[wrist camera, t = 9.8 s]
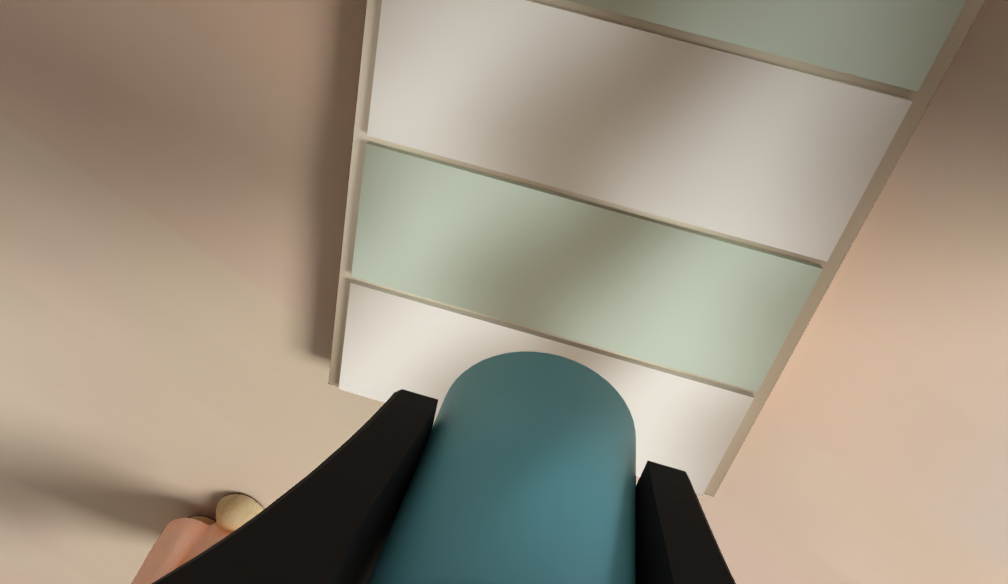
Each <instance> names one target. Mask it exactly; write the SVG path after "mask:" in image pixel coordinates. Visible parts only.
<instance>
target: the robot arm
mask: <svg viewBox="0 0 1008 584" xmlns="http://www.w3.org/2000/svg"><path fill="white" fill-rule="evenodd" d="M437 403H438V399H435V398H431V397H428V396H424V395H421V394H417V393H414V392H411V391H407V390H404V389H401V390H399V391H397V392H394V393H393V395H392V396H391V397H390V398H389V399H388V400H387V401H386V403H385V404H384V405H383V406H382V407H381V408H380V409H379V410H378V411H377V412H376V413H375V414H374V415H373V416H372V417H371V418H370V419H369V420H368V421H367V422H366V423H365V424H364V425H363V426H362V427H361V428H360V429H359V430H358V431H357V432H356V433H355V434H354V435H353V436H352V437H351V438H350V439H349V440H348V441H346V442H345V443H344V444H343V445H342V446H341V447H340V448H339V449H337V450H336V451H335V452H334V453H333V454H332V455H331V456H329V457H328V458H327V459H326V460H325V461H324V462H323V463H322V464H320V465H319V466H318V467H317V468H316V469H315V470H314V471H312V472H311V473H310V474H309V475H308V476H306V477H305V478H304V479H303V480H301V481H300V482H299V483H297V484H296V485H295V486H294V487H292V488H291V489H290V490H289V491H287V492H286V493H285V494H283V495H282V496H281V497H280V498H278V499H277V500H276V501H275V502H273V503H272V504H271V505H269V506H268V507H267V508H266V509H264V510H263V511H261V512H260V513H259V514H257V515H256V516H255V517H253V518H252V519H250V520H249V521H248V522H246V523H245V524H244V525H242V526H241V527H239V528H238V529H236V530H235V531H233V532H232V533H231V534H229V535H228V536H226V537H225V538H223V539H222V540H220V541H219V542H217V543H216V544H214V545H213V546H211V547H210V548H208V549H207V550H205V551H204V552H202V553H200V554H199V555H197V556H196V557H194V558H192V559H191V560H189V561H188V562H186V563H184V564H183V565H181V566H179V567H178V568H176V569H174V570H173V571H171V572H170V573H168V574H166V575H165V576H163V577H161V578H160V579H158V580H157V581H155V582H153V583H152V584H368V582H369V580H370V577H371V575H372V572H373V570H374V568H375V565H376V563H377V560H378V558H379V556H380V553H381V551H382V548H383V546H384V543H385V541H386V539H387V536H388V534H389V531H390V529H391V526H392V524H393V522H394V519H395V517H396V514H397V512H398V510H399V507H400V505H401V502H402V500H403V497H404V495H405V493H406V490H407V488H408V485H409V483H410V481H411V479H412V476H413V474H414V472H415V469H416V467H417V464H418V462H419V460H420V457H421V455H422V452H423V450H424V447H425V445H426V443H427V440H428V438H429V435H430V433H431V430H432V427H433V422H434V417H435V413H436V408H437ZM635 584H736V583H735V581H734V579H733V577H732V575H731V573H730V571H729V569H728V566H727V564H726V562H725V560H724V558H723V556H722V553H721V551H720V549H719V547H718V544H717V542H716V540H715V538H714V535H713V533H712V531H711V529H710V526H709V524H708V522H707V519H706V517H705V515H704V512H703V510H702V507H701V505H700V503H699V500H698V498H697V495H696V493H695V491H694V488H693V486H692V483H691V481H690V479H689V477H688V475H687V473H686V471H682V470H679V469H675V468H672V467H668V466H665V465H662V464H658V463H655V462H651V461H647V463H646V465H645V468H644V470H643V472H642V474H641V476H640V479H639V481H638V483H637V485H636V579H635Z"/></svg>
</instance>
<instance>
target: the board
mask: <svg viewBox="0 0 1008 584" xmlns="http://www.w3.org/2000/svg"><path fill="white" fill-rule="evenodd" d="M984 2H985V0H367V7H366V17H365V27H364V37H363V46H362V56H361V66H360V76H359V86H358V96H357V106H356V116H355V125H354V135H353V145H352V155H351V165H350V175H349V185H348V195H347V205H346V214H345V224H344V234H343V244H342V254H341V264H340V274H339V284H338V293H337V303H336V313H335V323H334V333H333V343H332V353H331V363H330V373H329V382H328V384H330V385H334V386H337V387H339V389H340V390H343V391H347V392H350V393H354V394H357V395H360V396H364V397H367V398H371V399H374V400H378V401H381V402H384V403H386V401H387V400H388V399H389V398H390V397H391V396H392V395H393V393H394V392H397V391H399V390H401V389H404V390H407V391H411V392H414V393H417V394H421V395H424V396H428V397H431V398H435V399H438V403H437V408H436V413H435V417H436V418H437V415H438V413H439V410H440V408H441V405H442V403H443V401H444V398H445V396H446V394H447V392H448V390H449V388H450V387H451V386H452V384H453V383H454V381H455V380H456V379H457V378H458V377H459V376H460V375H461V374H462V373H463V372H464V371H466V370H467V369H469V368H470V367H471V366H473V365H475V364H477V363H478V362H480V361H482V360H485V359H487V358H490V357H493V356H496V355H500V354H504V353H511V352H520V351H534V352H543V353H549V354H554V355H558V356H562V357H565V358H568V359H571V360H574V361H576V362H578V363H580V364H582V365H584V366H587V367H588V368H590V369H591V370H593V371H595V372H596V373H598V374H599V375H600V376H602V377H603V378H604V379H605V380H607V381H608V382H609V383H610V384H611V385H612V386H613V387H614V388H615V389H616V390H617V392H618V393H619V394H620V396H621V397H622V398H623V400H624V401H625V403H626V405H627V407H628V408H629V410H630V413H631V415H632V418H633V421H634V426H635V431H636V476H637V477H640V476H641V474H642V472H643V470H644V468H645V465H646V463H647V461H651V462H655V463H658V464H662V465H665V466H668V467H672V468H675V469H679V470H682V471H686V473H687V475H688V477H689V479H690V481H691V483H692V486H693V488H694V491H695V493H696V494H698V495H703V494H706V495H709V496H713V497H714V495H715V494H716V492H717V490H718V488H719V486H720V484H721V483H722V481H723V479H724V477H725V475H726V473H727V472H728V470H729V468H730V466H731V464H732V462H733V461H734V459H735V457H736V455H737V453H738V452H739V450H740V448H741V446H742V444H743V442H744V441H745V439H746V437H747V435H748V433H749V431H750V430H751V428H752V426H753V424H754V422H755V420H756V419H757V417H758V415H759V413H760V411H761V410H762V408H763V406H764V404H765V402H766V400H767V399H768V397H769V395H770V393H771V391H772V389H773V388H774V386H775V384H776V382H777V380H778V378H779V377H780V375H781V373H782V371H783V369H784V367H785V366H786V364H787V362H788V360H789V358H790V357H791V355H792V353H793V351H794V349H795V347H796V346H797V344H798V342H799V340H800V338H801V336H802V335H803V333H804V331H805V329H806V327H807V325H808V324H809V322H810V320H811V318H812V316H813V314H814V313H815V311H816V309H817V307H818V305H819V304H820V302H821V300H822V298H823V296H824V294H825V293H826V291H827V289H828V287H829V285H830V283H831V282H832V280H833V278H834V276H835V274H836V272H837V271H838V269H839V267H840V265H841V263H842V261H843V260H844V258H845V256H846V254H847V252H848V251H849V249H850V247H851V245H852V243H853V241H854V240H855V238H856V236H857V234H858V232H859V230H860V229H861V227H862V225H863V223H864V221H865V219H866V218H867V216H868V214H869V212H870V210H871V209H872V207H873V205H874V203H875V201H876V199H877V198H878V196H879V194H880V192H881V190H882V188H883V187H884V185H885V183H886V181H887V179H888V177H889V176H890V174H891V172H892V170H893V168H894V166H895V165H896V163H897V161H898V159H899V157H900V156H901V154H902V152H903V150H904V148H905V146H906V145H907V143H908V141H909V139H910V137H911V135H912V134H913V132H914V130H915V128H916V126H917V124H918V123H919V121H920V119H921V117H922V115H923V113H924V112H925V110H926V108H927V106H928V104H929V103H930V101H931V99H932V97H933V95H934V93H935V92H936V90H937V88H938V86H939V84H940V82H941V81H942V79H943V77H944V75H945V73H946V71H947V70H948V68H949V66H950V64H951V62H952V60H953V59H954V57H955V55H956V53H957V51H958V50H959V48H960V46H961V44H962V42H963V40H964V39H965V37H966V35H967V33H968V31H969V29H970V28H971V26H972V24H973V22H974V20H975V18H976V17H977V15H978V13H979V11H980V9H981V8H982V6H983V4H984Z"/></svg>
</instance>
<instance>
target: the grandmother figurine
mask: <svg viewBox="0 0 1008 584" xmlns="http://www.w3.org/2000/svg"><path fill="white" fill-rule="evenodd" d="M263 510H264V509H263V507H262V506H261V505H260V504H259V503H257V502H256V501H255V500H254V499H252V498H251V497H248V496H246V495H241V494H232V495H227V496H225V497H222V498H221V499H220V500H219V502H218V504H217V508H216V522H215V521H213V520H211V519H209V518H207V517H203V516H194V517H190V518H181V519H174V520H172V521H171V522H170V523H169V524H167V526H166V528H165V529H164V531H163V532H162V534H161V535H160V537H159V538H158V540H157V541H156V543H155V544H154V546H153V547H152V549H151V551H150V552H149V554H148V556H147V558H146V559H145V561H144V563H143V565H142V566H141V568H140V570H139V571H138V573H137V575H136V576H135V578H134V580H133V582H132V584H152V583H153V582H155V581H157V580H158V579H160V578H161V577H163V576H165V575H166V574H168V573H170V572H171V571H173V570H174V569H176V568H178V567H179V566H181V565H183V564H184V563H186V562H188V561H189V560H191V559H192V558H194V557H196V556H197V555H199V554H200V553H202V552H204V551H205V550H207V549H208V548H210V547H211V546H213V545H214V544H216V543H217V542H219V541H220V540H222V539H223V538H225V537H226V536H228V535H229V534H231V533H232V532H233V531H235V530H236V529H238V528H239V527H241V526H242V525H244V524H245V523H246V522H248V521H249V520H250V519H252V518H253V517H255V516H256V515H257V514H259V513H260V512H261V511H263Z"/></svg>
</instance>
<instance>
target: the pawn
mask: <svg viewBox="0 0 1008 584" xmlns="http://www.w3.org/2000/svg"><path fill="white" fill-rule="evenodd" d="M635 579H636V431H635V426H634V421H633V418H632V415H631V413H630V410H629V408H628V407H627V405H626V403H625V401H624V400H623V398H622V397H621V396H620V394H619V393H618V392H617V390H616V389H615V388H614V387H613V386H612V385H611V384H610V383H609V382H608V381H607V380H605V379H604V378H603V377H602V376H600V375H599V374H598V373H596V372H595V371H593V370H591V369H590V368H588V367H587V366H584V365H582V364H580V363H578V362H576V361H574V360H571V359H568V358H565V357H562V356H558V355H554V354H549V353H543V352H534V351H520V352H511V353H504V354H500V355H496V356H493V357H490V358H487V359H485V360H482V361H480V362H478V363H477V364H475V365H473V366H471V367H470V368H469V369H467V370H466V371H464V372H463V373H462V374H461V375H460V376H459V377H458V378H457V379H456V380H455V381H454V383H453V384H452V386H451V387H450V388H449V390H448V392H447V394H446V396H445V398H444V401H443V403H442V405H441V408H440V410H439V413H438V415H437V418H436V420H435V422H434V425H433V427H432V430H431V433H430V435H429V438H428V440H427V443H426V445H425V447H424V450H423V452H422V455H421V457H420V460H419V462H418V464H417V467H416V469H415V472H414V474H413V476H412V479H411V481H410V483H409V485H408V488H407V490H406V493H405V495H404V497H403V500H402V502H401V505H400V507H399V510H398V512H397V514H396V517H395V519H394V522H393V524H392V526H391V529H390V531H389V534H388V536H387V539H386V541H385V543H384V546H383V548H382V551H381V553H380V556H379V558H378V560H377V563H376V565H375V568H374V570H373V572H372V575H371V577H370V580H369V582H368V584H635Z"/></svg>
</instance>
